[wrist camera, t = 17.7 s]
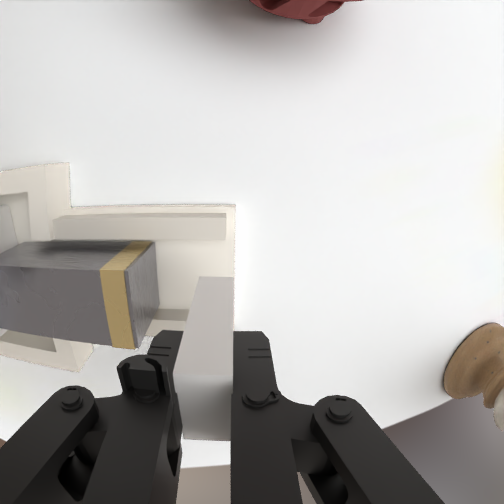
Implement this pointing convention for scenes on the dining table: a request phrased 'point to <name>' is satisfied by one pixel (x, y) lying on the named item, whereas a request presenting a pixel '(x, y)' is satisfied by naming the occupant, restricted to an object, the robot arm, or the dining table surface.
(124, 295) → the grey rectangular block
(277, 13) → the mechanical component
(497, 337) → the candle holder
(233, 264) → the dock socket
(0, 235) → the container
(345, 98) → the dining table surface
